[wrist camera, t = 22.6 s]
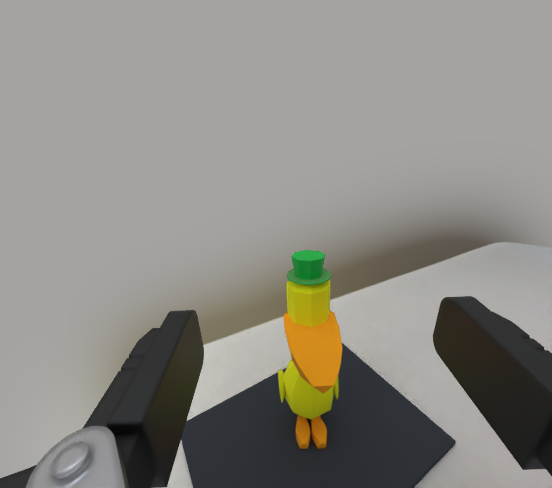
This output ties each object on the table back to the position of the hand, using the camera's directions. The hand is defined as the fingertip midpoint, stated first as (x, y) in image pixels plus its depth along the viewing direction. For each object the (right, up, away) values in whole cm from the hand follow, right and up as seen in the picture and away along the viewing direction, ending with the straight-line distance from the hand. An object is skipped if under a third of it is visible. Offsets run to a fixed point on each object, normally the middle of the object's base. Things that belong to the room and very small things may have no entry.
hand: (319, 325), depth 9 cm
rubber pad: (+1, -9, +8) cm, 12 cm away
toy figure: (+1, -9, +8) cm, 12 cm away
